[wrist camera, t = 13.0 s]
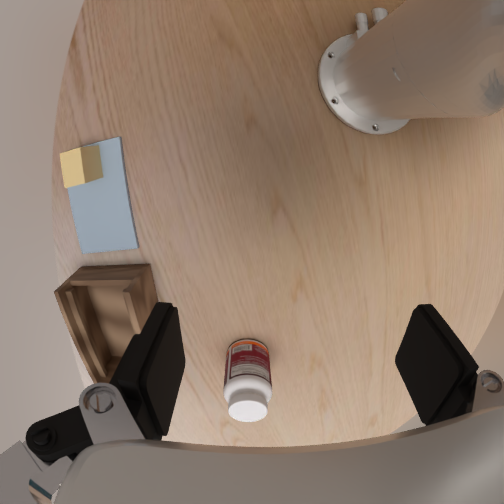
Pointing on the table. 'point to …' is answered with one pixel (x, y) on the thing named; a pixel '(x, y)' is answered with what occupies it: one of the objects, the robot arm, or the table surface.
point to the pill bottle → (247, 380)
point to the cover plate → (100, 196)
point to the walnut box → (106, 312)
